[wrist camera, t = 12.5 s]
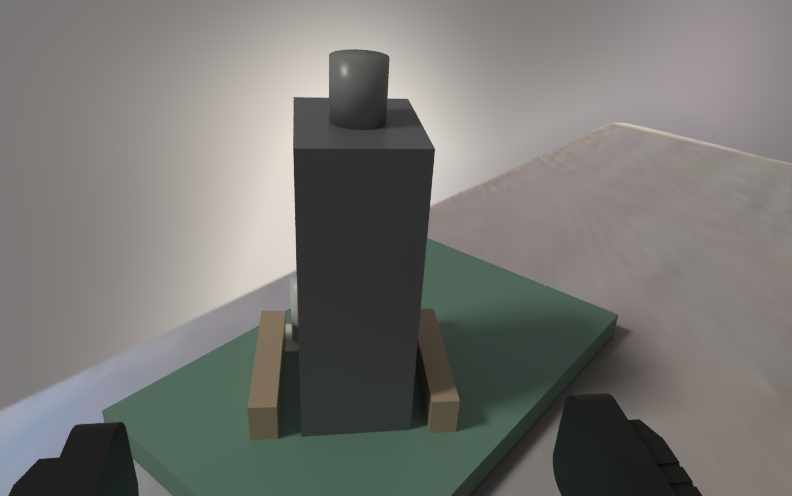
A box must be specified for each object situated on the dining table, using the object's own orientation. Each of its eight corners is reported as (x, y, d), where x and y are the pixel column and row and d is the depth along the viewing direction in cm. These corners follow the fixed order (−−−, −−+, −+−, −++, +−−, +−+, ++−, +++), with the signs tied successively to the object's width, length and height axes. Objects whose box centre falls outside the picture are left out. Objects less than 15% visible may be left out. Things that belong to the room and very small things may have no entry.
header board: (421, 254, 38) (427, 189, 36) (613, 334, 32) (632, 261, 30) (107, 434, 24) (87, 345, 22) (335, 645, 18) (336, 546, 16)
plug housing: (392, 345, 28) (411, 40, 21) (410, 429, 23) (441, 78, 17) (299, 349, 27) (292, 37, 21) (301, 436, 23) (291, 75, 16)
